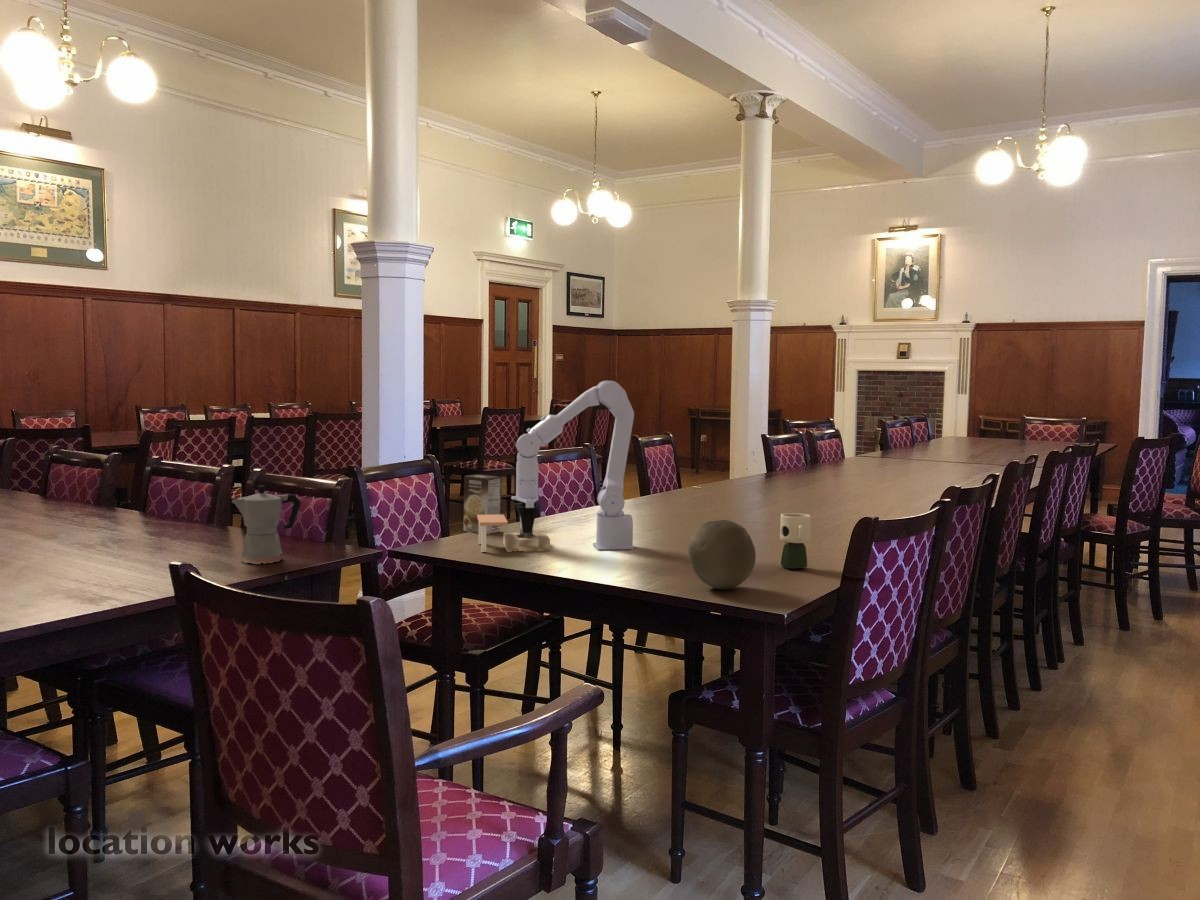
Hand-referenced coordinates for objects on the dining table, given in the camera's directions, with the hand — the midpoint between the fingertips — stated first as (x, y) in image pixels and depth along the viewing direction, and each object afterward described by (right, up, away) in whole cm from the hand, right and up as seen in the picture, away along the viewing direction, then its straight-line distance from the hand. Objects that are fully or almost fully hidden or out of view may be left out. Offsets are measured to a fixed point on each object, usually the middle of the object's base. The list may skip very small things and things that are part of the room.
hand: (526, 531), depth 239 cm
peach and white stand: (-9, -4, -1) cm, 10 cm away
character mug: (+66, -7, -20) cm, 69 cm away
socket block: (0, -4, 0) cm, 4 cm away
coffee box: (-15, -2, +24) cm, 28 cm away
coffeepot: (-60, -5, -23) cm, 64 cm away
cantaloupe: (+45, -9, -44) cm, 63 cm away
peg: (0, -2, 0) cm, 2 cm away
